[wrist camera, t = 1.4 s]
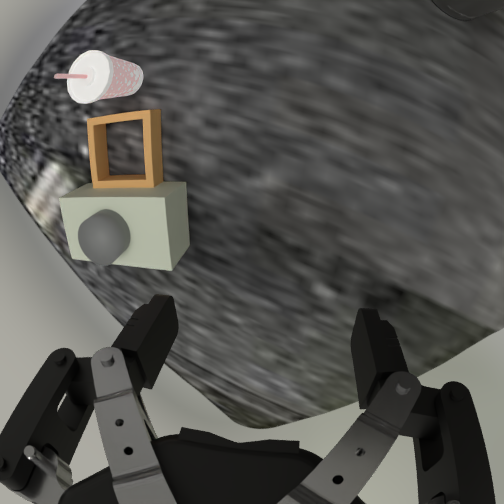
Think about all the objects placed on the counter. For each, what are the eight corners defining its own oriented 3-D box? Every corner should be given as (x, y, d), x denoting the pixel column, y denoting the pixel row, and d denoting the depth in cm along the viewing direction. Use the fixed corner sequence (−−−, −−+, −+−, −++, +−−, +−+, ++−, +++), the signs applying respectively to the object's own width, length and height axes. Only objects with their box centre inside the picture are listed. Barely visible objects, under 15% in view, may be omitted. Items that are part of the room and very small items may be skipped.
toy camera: (83, 120, 34) (34, 130, 25) (184, 107, 32) (147, 108, 23) (97, 237, 42) (60, 269, 33) (189, 245, 41) (162, 284, 32)
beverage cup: (155, 64, 30) (88, 50, 17) (138, 107, 32) (67, 114, 20) (119, 53, 29) (47, 42, 17) (103, 94, 32) (29, 100, 19)
